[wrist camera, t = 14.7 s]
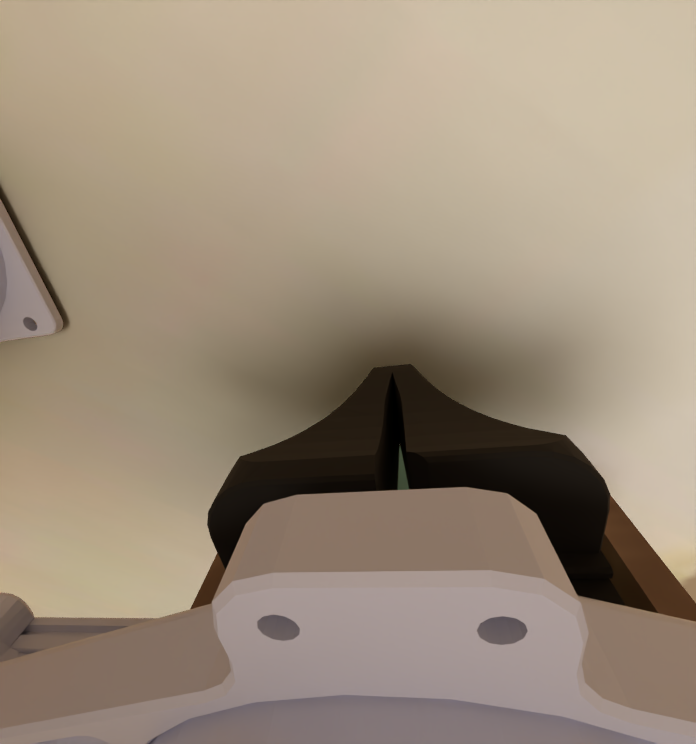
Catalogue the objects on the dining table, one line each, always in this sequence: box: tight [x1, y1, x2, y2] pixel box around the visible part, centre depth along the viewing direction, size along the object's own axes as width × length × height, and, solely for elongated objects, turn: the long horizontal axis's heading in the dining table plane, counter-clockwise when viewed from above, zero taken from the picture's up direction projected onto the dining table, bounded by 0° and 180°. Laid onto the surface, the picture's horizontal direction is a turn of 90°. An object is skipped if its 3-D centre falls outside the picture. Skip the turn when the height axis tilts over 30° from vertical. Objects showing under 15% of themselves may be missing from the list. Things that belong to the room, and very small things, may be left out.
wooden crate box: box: [191, 495, 696, 622], centre depth 14 cm, size 14×10×7 cm
